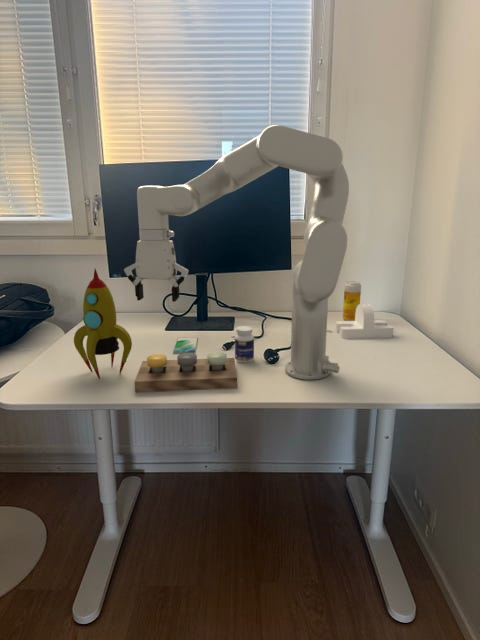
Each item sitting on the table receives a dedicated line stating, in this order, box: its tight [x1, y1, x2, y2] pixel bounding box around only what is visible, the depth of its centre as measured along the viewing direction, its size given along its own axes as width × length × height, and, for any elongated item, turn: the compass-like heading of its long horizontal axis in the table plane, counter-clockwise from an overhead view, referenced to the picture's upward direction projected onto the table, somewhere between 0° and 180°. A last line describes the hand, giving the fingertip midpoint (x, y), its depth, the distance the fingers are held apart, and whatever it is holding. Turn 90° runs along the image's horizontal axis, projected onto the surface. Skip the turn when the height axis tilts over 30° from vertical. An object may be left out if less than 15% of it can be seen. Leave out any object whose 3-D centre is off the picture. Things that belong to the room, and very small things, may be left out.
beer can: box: [342, 280, 362, 321], centre depth 169 cm, size 6×6×15 cm
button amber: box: [146, 353, 168, 373], centre depth 118 cm, size 5×5×5 cm
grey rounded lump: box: [176, 353, 198, 372], centre depth 118 cm, size 5×5×5 cm
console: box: [134, 357, 238, 393], centre depth 119 cm, size 26×14×3 cm, turn 94°
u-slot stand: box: [335, 303, 394, 340], centre depth 154 cm, size 10×18×11 cm, turn 93°
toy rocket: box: [73, 268, 133, 380], centre depth 120 cm, size 12×12×30 cm
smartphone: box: [172, 337, 199, 355], centre depth 145 cm, size 7×1×15 cm
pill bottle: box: [234, 325, 255, 363], centre depth 131 cm, size 6×6×10 cm
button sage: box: [206, 351, 228, 371], centre depth 119 cm, size 5×5×5 cm
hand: (157, 299), depth 118 cm, fingers open, 9 cm apart
